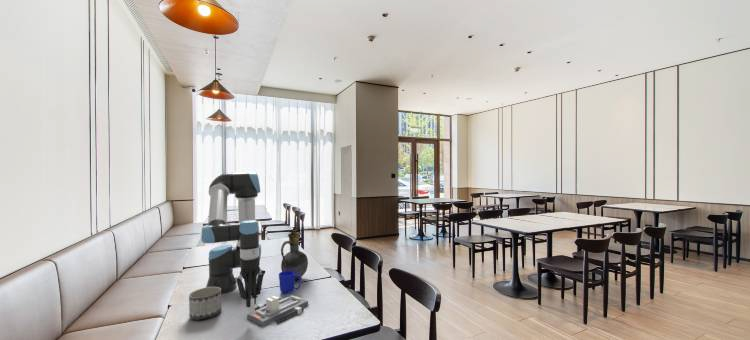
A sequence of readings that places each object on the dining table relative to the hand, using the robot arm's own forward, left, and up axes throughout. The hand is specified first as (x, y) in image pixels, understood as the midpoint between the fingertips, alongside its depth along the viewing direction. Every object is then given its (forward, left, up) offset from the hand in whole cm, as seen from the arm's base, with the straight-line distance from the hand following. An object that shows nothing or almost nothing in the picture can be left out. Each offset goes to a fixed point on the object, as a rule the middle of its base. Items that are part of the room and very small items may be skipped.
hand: (251, 313), depth 127 cm
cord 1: (-8, +13, -4) cm, 17 cm away
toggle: (0, +10, -2) cm, 11 cm away
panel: (0, +13, -4) cm, 14 cm away
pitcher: (-26, +41, -5) cm, 49 cm away
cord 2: (+9, +13, -4) cm, 17 cm away
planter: (-25, -8, -5) cm, 27 cm away
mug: (-14, +30, -5) cm, 34 cm away
